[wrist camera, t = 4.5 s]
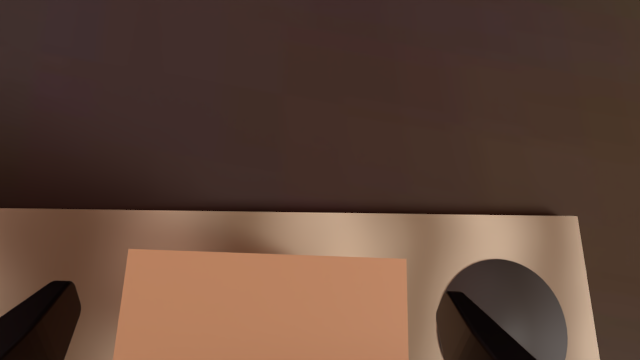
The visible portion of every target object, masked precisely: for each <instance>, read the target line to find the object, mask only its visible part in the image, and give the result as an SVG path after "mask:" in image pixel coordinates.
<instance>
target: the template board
mask: <svg viewBox="0 0 640 360" xmlns="http://www.w3.org/2000/svg"><path fill="white" fill-rule="evenodd" d="M128 249H146V250H174V251H202V252H230V253H258V254H286V255H314V256H342V257H370V258H398V259H407V305H408V351H409V360H444V356H443V351H442V346H441V341H440V337H439V332H438V327H437V322H436V311H437V308H438V306H439V303H440V301H441V298H442V296H443V294H444V292H445V291H461V292H463V293H464V294H465V295H466V296H468V297H469V298H470V299H471V300H472V301H473V302H474V303H475V304H476V305H477V306H479V307H480V308H481V309H482V310H483V311H484V312H485V313H486V314H487V315H488V316H490V317H491V318H492V319H493V320H494V321H495V322H496V323H497V324H498V325H499V326H501V327H502V328H503V329H504V330H505V331H506V332H507V333H508V334H509V335H510V336H511V337H513V338H514V339H515V340H516V341H517V342H518V343H519V344H520V345H521V346H522V347H524V348H525V349H526V350H527V351H528V352H529V353H530V354H531V355H532V356H533V357H535V358H536V359H537V360H600V358H599V351H598V345H597V339H596V332H595V326H594V319H593V313H592V307H591V300H590V294H589V288H588V281H587V275H586V269H585V262H584V256H583V250H582V243H581V237H580V230H579V224H578V218H577V216H524V215H452V214H380V213H308V212H236V211H165V210H93V209H21V208H0V317H1V316H2V315H4V314H5V313H7V312H8V311H10V310H11V309H12V308H14V307H15V306H17V305H18V304H20V303H21V302H22V301H24V300H25V299H27V298H28V297H30V296H31V295H33V294H34V293H35V292H37V291H38V290H40V289H41V288H43V287H44V286H45V285H47V284H48V283H50V282H52V281H55V280H61V281H72V282H73V283H74V284H75V286H76V289H77V293H78V296H79V299H80V303H81V313H80V317H79V319H78V322H77V325H76V328H75V331H74V334H73V336H72V339H71V342H70V345H69V348H68V351H67V354H66V356H65V359H64V360H113V355H114V348H115V341H116V334H117V327H118V320H119V313H120V306H121V299H122V292H123V285H124V278H125V271H126V264H127V256H128Z"/></svg>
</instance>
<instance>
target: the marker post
mask: <svg viewBox="0 0 640 360" xmlns="http://www.w3.org/2000/svg"><path fill="white" fill-rule="evenodd" d="M113 360H409V351H408V305H407V259H398V258H370V257H342V256H314V255H286V254H258V253H230V252H202V251H174V250H146V249H128V256H127V264H126V271H125V278H124V285H123V292H122V299H121V306H120V313H119V320H118V327H117V334H116V341H115V348H114V355H113Z"/></svg>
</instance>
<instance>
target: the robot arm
mask: <svg viewBox="0 0 640 360" xmlns="http://www.w3.org/2000/svg"><path fill="white" fill-rule="evenodd" d="M80 313H81V303H80V299H79V296H78V293H77V289H76V286H75V284H74V283H73V282H72V281H61V280H55V281H52V282H50V283H48V284H47V285H45V286H44V287H43V288H41V289H40V290H38V291H37V292H35V293H34V294H33V295H31V296H30V297H28V298H27V299H25V300H24V301H22V302H21V303H20V304H18V305H17V306H15V307H14V308H12V309H11V310H10V311H8V312H7V313H5V314H4V315H2V316H1V317H0V360H64V359H65V356H66V354H67V351H68V348H69V345H70V342H71V339H72V336H73V334H74V331H75V328H76V325H77V322H78V319H79V317H80ZM436 322H437V327H438V332H439V337H440V341H441V346H442V351H443V356H444V360H537V359H536V358H535V357H533V356H532V355H531V354H530V353H529V352H528V351H527V350H526V349H525V348H524V347H522V346H521V345H520V344H519V343H518V342H517V341H516V340H515V339H514V338H513V337H511V336H510V335H509V334H508V333H507V332H506V331H505V330H504V329H503V328H502V327H501V326H499V325H498V324H497V323H496V322H495V321H494V320H493V319H492V318H491V317H490V316H488V315H487V314H486V313H485V312H484V311H483V310H482V309H481V308H480V307H479V306H477V305H476V304H475V303H474V302H473V301H472V300H471V299H470V298H469V297H468V296H466V295H465V294H464V293H463V292H461V291H445V292H444V294H443V296H442V298H441V301H440V303H439V306H438V308H437V311H436Z"/></svg>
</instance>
